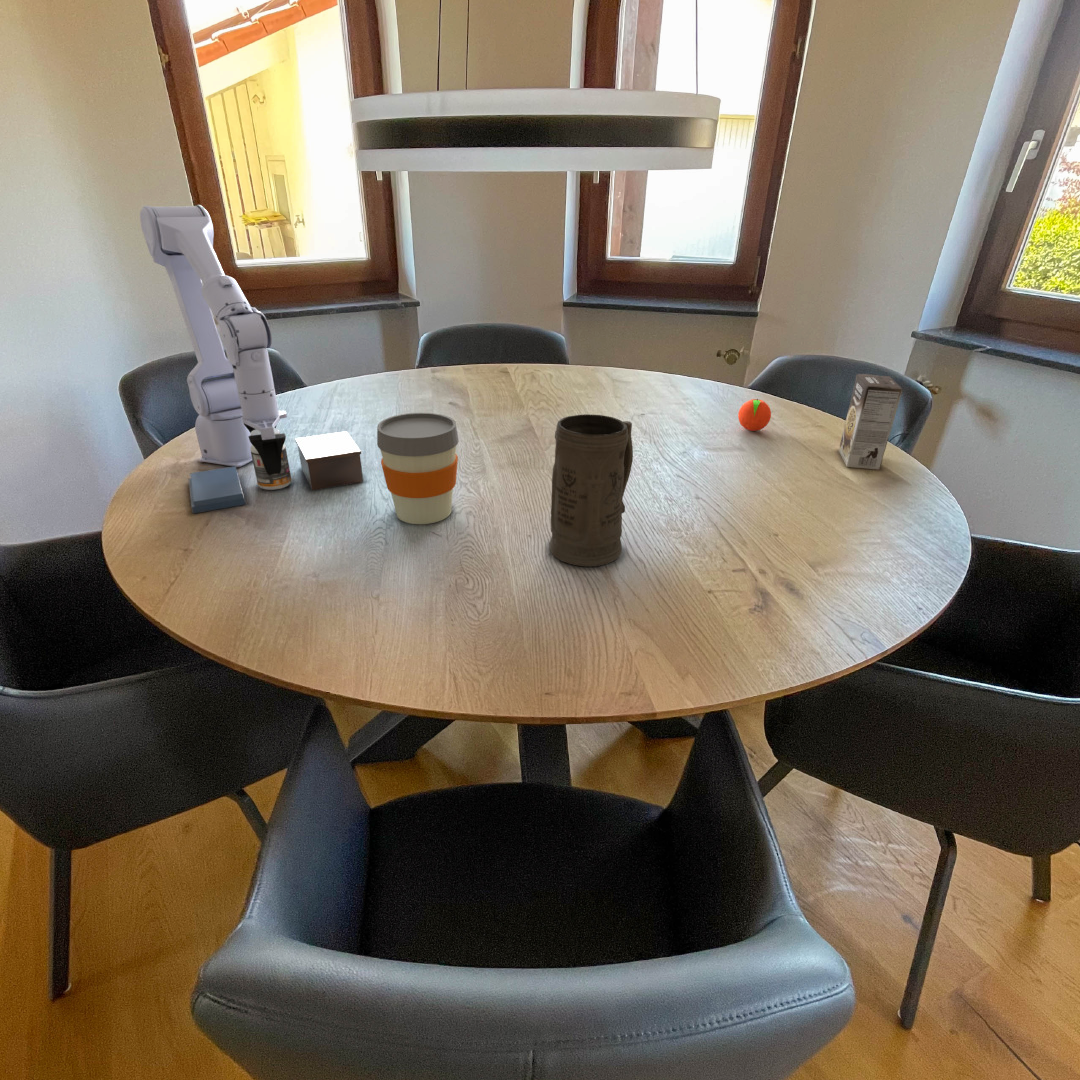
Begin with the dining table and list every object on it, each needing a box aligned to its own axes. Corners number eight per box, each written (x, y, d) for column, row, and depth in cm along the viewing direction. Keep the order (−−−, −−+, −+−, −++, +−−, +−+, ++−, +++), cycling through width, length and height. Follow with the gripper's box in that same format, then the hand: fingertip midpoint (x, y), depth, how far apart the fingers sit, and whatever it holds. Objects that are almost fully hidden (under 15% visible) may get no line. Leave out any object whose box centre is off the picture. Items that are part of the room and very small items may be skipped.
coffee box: (836, 450, 136) (855, 373, 128) (870, 453, 135) (891, 375, 127) (845, 467, 128) (866, 385, 120) (880, 470, 127) (904, 387, 119)
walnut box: (311, 491, 115) (305, 459, 112) (300, 468, 124) (295, 438, 121) (364, 482, 119) (360, 451, 116) (350, 460, 128) (346, 431, 125)
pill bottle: (281, 492, 114) (270, 438, 110) (251, 489, 115) (239, 435, 111) (298, 479, 119) (288, 427, 115) (269, 476, 120) (259, 424, 116)
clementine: (767, 438, 142) (773, 406, 139) (734, 434, 144) (739, 403, 140) (768, 427, 149) (774, 396, 145) (737, 423, 151) (742, 393, 147)
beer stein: (598, 577, 91) (612, 438, 83) (533, 556, 96) (540, 422, 88) (643, 540, 103) (659, 414, 95) (583, 522, 108) (593, 402, 100)
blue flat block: (193, 513, 107) (190, 502, 106) (190, 484, 117) (187, 473, 116) (245, 504, 110) (243, 493, 109) (238, 476, 120) (236, 466, 119)
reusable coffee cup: (439, 535, 102) (433, 443, 94) (370, 521, 105) (358, 432, 98) (474, 502, 112) (471, 417, 105) (409, 491, 116) (402, 408, 108)
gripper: (288, 398, 105) (301, 476, 112) (275, 376, 116) (288, 448, 123) (240, 403, 102) (257, 483, 109) (232, 380, 114) (248, 454, 120)
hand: (271, 465), depth 116 cm, fingers open, 7 cm apart
